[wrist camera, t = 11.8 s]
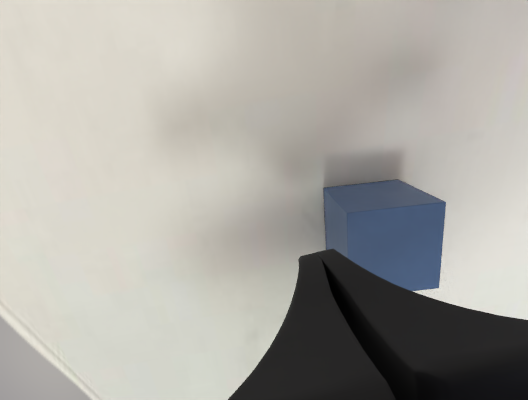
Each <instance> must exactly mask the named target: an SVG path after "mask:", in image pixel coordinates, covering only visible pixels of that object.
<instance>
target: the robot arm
mask: <svg viewBox="0 0 528 400" xmlns="http://www.w3.org/2000/svg"><path fill="white" fill-rule="evenodd" d="M228 400H528V320H523V319H517V318H511V317H505V316H499V315H494V314H489V313H485V312H481V311H476V310H472V309H467V308H463V307H460V306H456V305H452V304H449V303H445V302H442V301H439V300H436V299H432V298H429V297H426V296H423V295H420V294H418V293H415V292H412V291H410V290H407V289H405V288H402V287H400V286H398V285H395V284H393V283H391V282H389V281H387V280H385V279H383V278H381V277H379V276H377V275H375V274H373V273H371V272H369V271H368V270H366V269H364V268H363V267H361V266H359V265H358V264H356V263H354V262H353V261H351V260H350V259H348V258H347V257H345V256H344V255H342V254H341V253H339V252H338V251H336V250H335V249H329V250H325V251H320V252H316V253H312V254H308V255H304V256H301V257H300V258H299V272H298V279H297V283H296V288H295V292H294V295H293V298H292V301H291V305H290V307H289V310H288V313H287V315H286V317H285V319H284V322H283V324H282V326H281V328H280V330H279V332H278V334H277V335H276V337H275V339H274V341H273V343H272V344H271V346H270V348H269V349H268V351H267V352H266V353H265V355H264V356H263V358H262V359H261V361H260V362H259V364H258V365H257V366H256V368H255V369H254V371H253V372H252V373H251V374H250V375H249V377H248V378H247V379H246V380H245V381H244V382H243V383H242V385H241V386H240V387H239V388H238V389H237V390H236V391H235V393H234V394H233V395H232V396H231V397H230V398H229V399H228Z"/></svg>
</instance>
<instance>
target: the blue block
mask: <svg viewBox="0 0 528 400" xmlns="http://www.w3.org/2000/svg"><path fill="white" fill-rule="evenodd" d="M445 207H446V202H445V201H443V200H440V199H438V198H436V197H434V196H432V195H430V194H428V193H426V192H423V191H421V190H419V189H417V188H415V187H413V186H411V185H409V184H407V183H404V182H402V181H400V180H389V181H381V182H372V183H363V184H354V185H345V186H336V187H327V188H324V210H325V231H326V250H329V249H335V250H336V251H338V252H339V253H341V254H342V255H344V256H345V257H347V258H348V259H350V260H351V261H353V262H354V263H356V264H358V265H359V266H361V267H363V268H364V269H366V270H368V271H369V272H371V273H373V274H375V275H377V276H379V277H381V278H383V279H385V280H387V281H389V282H391V283H393V284H395V285H398V286H400V287H402V288H405V289H407V290H410V291H417V290H426V289H434V288H439V280H440V267H441V255H442V243H443V231H444V219H445Z"/></svg>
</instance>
